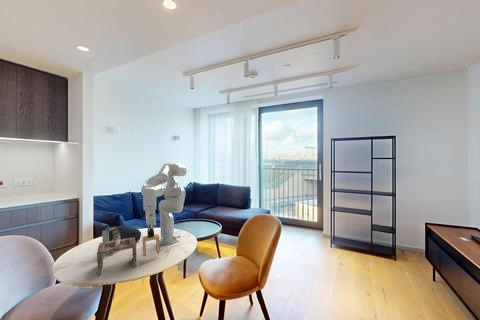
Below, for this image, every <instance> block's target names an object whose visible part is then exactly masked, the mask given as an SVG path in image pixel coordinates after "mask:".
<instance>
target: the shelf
mask: <svg viewBox="0 0 480 320" xmlns="http://www.w3.org/2000/svg"><path fill="white" fill-rule="evenodd" d="M126 243H129V244H126ZM121 244H123V245H121ZM110 245H115V247H112V248H106V249H105V246H110ZM130 249H132V263H133V268H137V242H136V241H135V237H133V238H127V239H120V240H115V241H109V242H103V243H102V242H99V244H98V247H97V251H96V252H97V253H96V257H97V258H96V260H97V261H96V263H97V265H96V266H97V270H96V271H97V276H98V277H100V276H102V272H103V265H104V255H103V254H104V253H110V252H115V251H118V252H120V251H125V250H130Z"/></svg>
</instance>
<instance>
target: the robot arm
mask: <svg viewBox="0 0 480 320" xmlns="http://www.w3.org/2000/svg"><path fill="white" fill-rule="evenodd" d="M187 171H188V170H187V167H186V166H185V165H184V164H181V163H179V162H166V163H164V164H163V165H162V166H161V168H160V170H159V171H158V173H157V174H155V175H152V176H151V177H149V178H148V179H146V180H145V182H144V183H143V185H142V187H141V188H140V193H141V195H142V198H143V199H142V206H143V211H144V212H145V222H146V226H147V230H149V231H148V234H147V236H148V237H154V235H155V230H154V229H155V228H154V226H155V227H156V226H157V219H156V217H157V216H156V210H157V198H158V197H162V196H163V197H164V199H162V200H160V201H159V203H158V211H159V218H160V219H159V223H160V228H159V229H160V238H159V244H160V245H161V246H169V245H173V244H175V243H176V242H177V239H180V238H181V234H175V222H174V221H175V219H174V218H175V217H174V215H173V213H174V214H175V213H176V214H178V213H181V212H182V211H183V209H184V204H185V200H186V199H185V198H186V189H185V188H184V187H182V186H178V185H179V182H178V180H177V179H176V178H175V177H185V176H186V174H187ZM165 183H166V185H165V187H164V186H163V185H164V184H165ZM162 184H163V185H162Z"/></svg>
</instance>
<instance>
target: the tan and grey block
mask: <svg viewBox="0 0 480 320" xmlns="http://www.w3.org/2000/svg"><path fill="white" fill-rule="evenodd" d="M148 231H149V230H148V229H147V231H146V232H147V233H146V234H147V235H144V236H141V237H142V256H143V257H146V256H147V247H146V246H147V245H146V242H150V241H155V240H156V241H155V242H156V243H155V246H156V248H155V249H156V253H157V254H160V252H161V250H160V249H161V248H160V247H161V246H160V245H161V244H159V240H160V234H159V233H156V234H155V233H154V237H148Z"/></svg>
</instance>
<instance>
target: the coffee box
mask: <svg viewBox="0 0 480 320" xmlns="http://www.w3.org/2000/svg"><path fill="white" fill-rule="evenodd" d="M101 231H102V233H101V234H102V235H101V236H102V242H101V243H103V242H109V241H115V240H121V239H120V227H118V226H111V227H108V228H106V229H102V230H101ZM112 247H115V245H110V246H105V249H106V248H112ZM117 252H119V251H115V252H110V253H104V254H103V256H112V255H114V254H116V253H117Z"/></svg>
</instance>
